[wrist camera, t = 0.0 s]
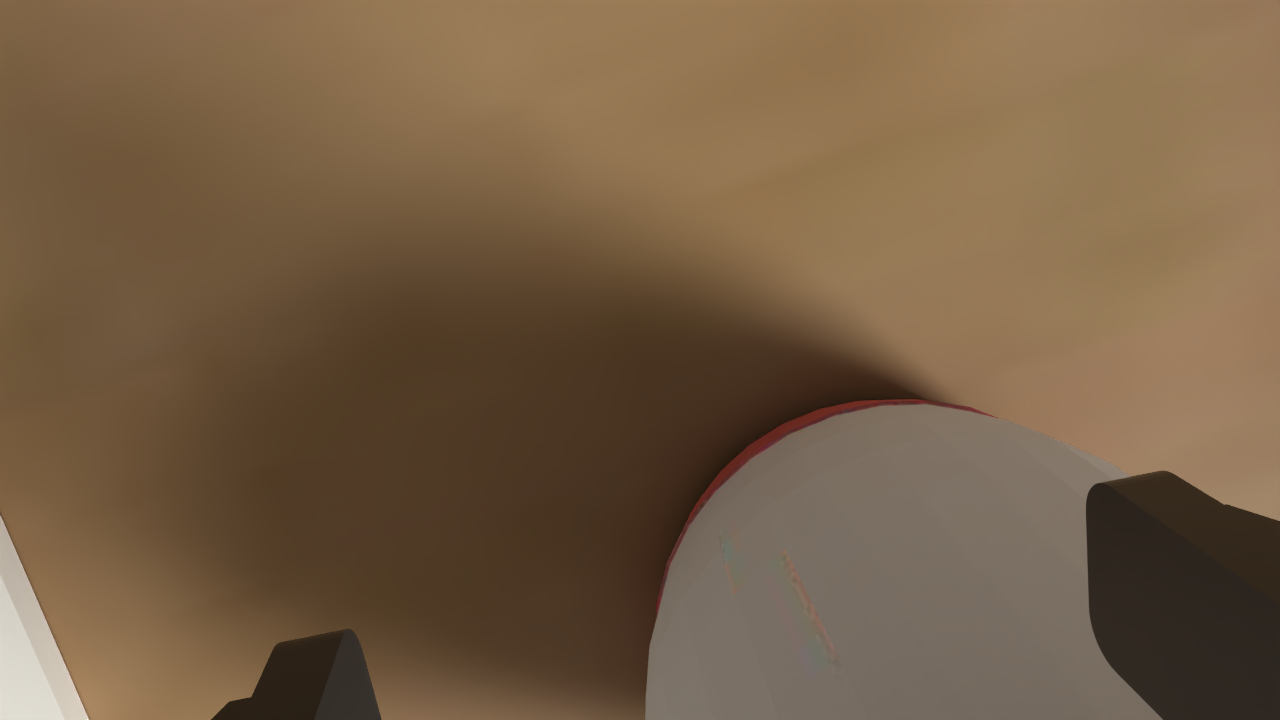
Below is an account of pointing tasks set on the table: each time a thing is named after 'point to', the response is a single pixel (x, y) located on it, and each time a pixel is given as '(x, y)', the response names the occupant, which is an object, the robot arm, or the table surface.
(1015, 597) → the citrus juicer
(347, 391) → the table surface
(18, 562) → the mat
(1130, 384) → the table surface
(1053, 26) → the table surface
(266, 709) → the robot arm
